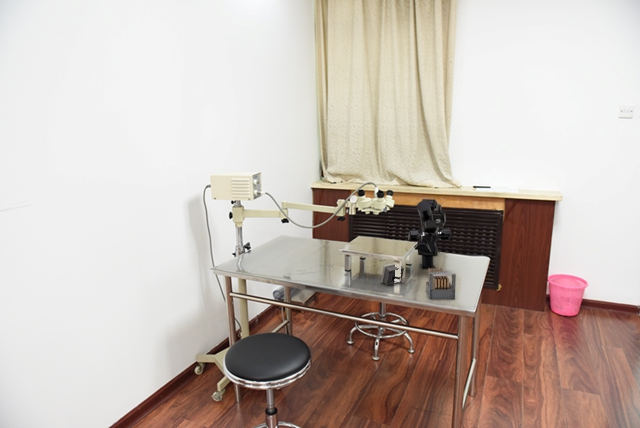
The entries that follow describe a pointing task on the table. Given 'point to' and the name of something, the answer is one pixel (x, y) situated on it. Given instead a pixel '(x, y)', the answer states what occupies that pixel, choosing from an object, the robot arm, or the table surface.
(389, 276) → the electrical switch
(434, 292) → the grey open frame
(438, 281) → the heat-sink block
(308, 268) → the table surface
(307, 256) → the table surface
